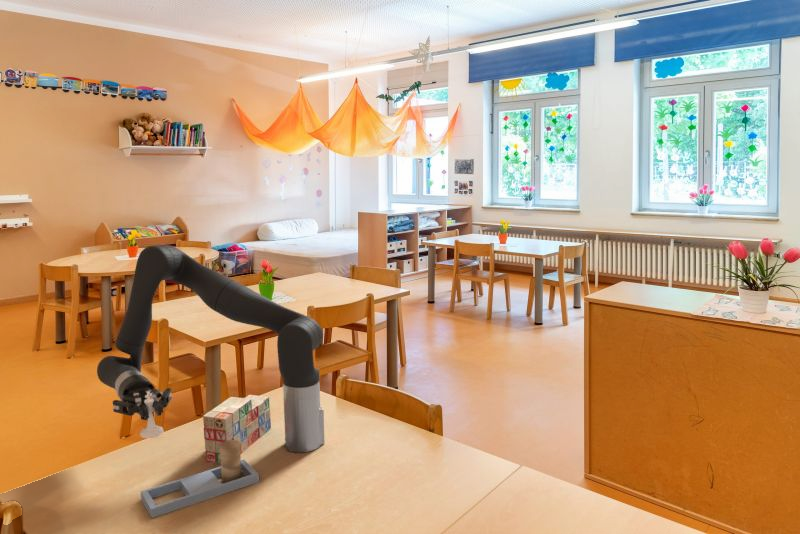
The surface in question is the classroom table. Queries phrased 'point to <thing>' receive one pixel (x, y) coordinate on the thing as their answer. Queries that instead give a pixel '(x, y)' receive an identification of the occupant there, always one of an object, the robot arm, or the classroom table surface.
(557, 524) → the classroom table surface
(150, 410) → the chess piece
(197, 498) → the blue-grey slotted tray
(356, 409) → the classroom table surface
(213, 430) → the stack of blocks
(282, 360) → the robot arm
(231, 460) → the tan brown upright column
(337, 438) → the classroom table surface
